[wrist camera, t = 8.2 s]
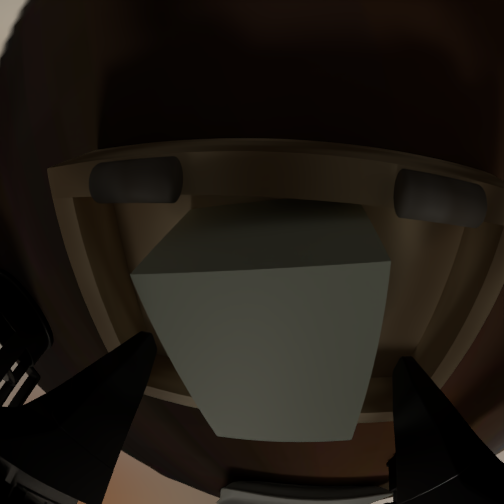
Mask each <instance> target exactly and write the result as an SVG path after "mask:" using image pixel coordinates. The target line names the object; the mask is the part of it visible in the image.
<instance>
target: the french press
mask: <svg viewBox="0 0 504 504" xmlns="http://www.w3.org/2000/svg"><path fill="white" fill-rule="evenodd" d="M0 343H1V344H2V345H3V347H2V348H1V349H0V382H1V381H2V379H3V380H5V381H6V382H5V383H4V385H3V386H2V388H1V389H0V407H2V405H3V403H4V402H5V401H6V399H7V398H8V396H9V394H10V393H11V392H12V390H13V389H14V387H15V386H16V384H17V383H18V382H19V380H20V379H21V377H22V376H23V375H24V373H25V372H26V371H27V369H28V371H29V372H30V374H29V376H28V378H27V379H26V380H25V382H24V383H23V385H22V386H21V388H20V389H19V391H18V392H17V393H16V395H15V396H14V398H13V399H12V401H11V402H10V404H9V405H8V407H19V406H22V405H23V404H24V402H25V401H26V399H27V398H28V396H29V395H30V393H31V392H32V390H33V389H34V387H35V386H36V384H37V383H38V382H39V380H40V375H39V374H38V373H37V371H36V370H35V369H34V368H33V366H34V365H35V363H36V362H37V361H38V359H39V358H40V357H41V355H42V354H43V353H44V352H45V350H47V349H49V348H50V347H51V346H52V344H53V335H52V332H51V329H50V327H49V325H48V323H47V321H46V319H45V317H44V315H43V314H42V312H41V311H40V309H39V307H38V306H37V305H36V303H35V302H34V300H33V299H32V298H31V296H30V295H29V294H28V292H27V291H26V290H25V289H24V288H23V286H22V285H21V284H20V283H19V282H18V281H17V280H16V279H15V278H14V277H13V276H12V275H10V274H9V273H8V272H6V271H4V270H2V269H0ZM17 360H19V361H20V363H19V364H18V366H17V367H16V368H15V370H14V371H13V372H12V370H11V369H10V368H11V367H12V366H13V364H14V363H15V362H16V361H17Z"/></svg>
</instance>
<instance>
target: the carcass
mask: <svg viewBox="0 0 504 504" xmlns="http://www.w3.org/2000/svg"><path fill="white" fill-rule="evenodd" d="M47 172H48V177H49V183H50V188H51V193H52V197H53V202H54V206H55V210H56V214H57V218H58V222H59V226H60V230H61V233H62V237H63V240H64V244H65V247H66V250H67V253H68V256H69V259H70V262H71V265H72V268H73V271H74V274H75V277H76V279H77V282H78V285H79V287H80V290H81V293H82V295H83V298H84V300H85V303H86V305H87V307H88V310H89V312H90V314H91V317H92V319H93V321H94V323H95V326H96V328H97V330H98V332H99V334H100V336H101V338H102V340H103V342H104V344H105V346H106V348H107V350H108V352H110V351H112V350H113V349H115V348H116V347H118V346H119V345H121V344H122V343H124V342H125V341H127V340H128V339H130V338H131V337H133V336H134V335H136V334H137V333H139V332H140V331H147V332H151V333H152V334H153V337H154V340H155V343H156V346H157V354H156V357H155V360H154V363H153V367H152V370H151V374H150V377H149V380H148V384H147V387H146V389H145V392H144V394H145V395H148V396H152V397H155V398H159V399H162V400H166V401H170V402H174V403H178V404H182V405H186V406H190V407H195V408H198V406H197V405H196V403H195V401H194V400H193V398H192V396H191V395H190V393H189V391H188V390H187V388H186V386H185V385H184V383H183V381H182V380H181V378H180V376H179V374H178V373H177V371H176V369H175V367H174V365H173V364H172V362H171V360H170V358H169V356H168V354H167V353H166V351H165V349H164V347H163V345H162V343H161V341H160V339H159V337H158V335H157V333H156V331H155V329H154V327H153V325H152V323H151V321H150V319H149V317H148V315H147V313H146V310H145V308H144V306H143V304H142V302H141V300H140V297H139V295H138V293H137V290H136V288H135V286H134V284H133V281H132V279H131V276H130V274H131V273H132V271H133V270H134V269H135V268H136V267H137V266H138V265H139V264H140V262H141V261H142V260H143V259H144V258H145V257H146V256H147V255H148V254H149V253H150V251H151V250H152V249H153V248H154V247H155V246H156V245H157V244H158V243H159V242H160V241H161V240H162V239H163V237H164V236H165V235H166V234H167V233H168V232H169V231H170V230H171V229H172V228H173V227H174V226H175V225H176V224H177V223H178V222H179V221H180V220H181V219H182V218H183V217H184V216H185V215H186V214H187V213H188V212H189V211H190V210H191V209H196V208H204V207H212V206H220V205H229V204H238V203H247V202H257V201H267V200H278V199H289V198H290V199H305V200H318V201H330V202H342V203H352V204H361V205H362V207H363V209H364V210H365V212H366V214H367V216H368V218H369V219H370V221H371V223H372V225H373V227H374V229H375V230H376V232H377V234H378V236H379V238H380V240H381V242H382V244H383V246H384V248H385V250H386V252H387V254H388V256H389V258H390V260H391V267H390V276H389V284H388V291H387V298H386V305H385V311H384V317H383V323H382V328H381V333H380V338H379V343H378V348H377V352H376V357H375V361H374V365H373V370H372V374H371V377H370V381H369V385H368V389H367V392H366V396H365V399H364V403H363V406H362V409H361V412H360V416H359V419H358V422H357V423H368V422H384V421H393V388H392V373H393V370H394V368H395V366H396V364H397V362H398V360H399V358H400V357H401V356H412V357H413V358H414V359H415V360H416V361H417V363H418V364H419V365H420V366H421V367H422V368H423V370H424V371H425V372H426V373H427V374H428V375H429V377H430V378H431V379H432V380H433V381H434V383H435V384H436V385H437V386H438V387H439V389H441V387H442V386H443V385H444V383H445V382H446V381H447V379H448V378H449V377H450V375H451V374H452V373H453V371H454V370H455V368H456V367H457V366H458V364H459V363H460V361H461V360H462V358H463V357H464V355H465V354H466V352H467V351H468V349H469V347H470V346H471V344H472V343H473V341H474V339H475V338H476V336H477V334H478V333H479V331H480V329H481V327H482V326H483V324H484V322H485V320H486V318H487V316H488V315H489V313H490V311H491V309H492V307H493V305H494V303H495V301H496V299H497V297H498V295H499V292H500V290H501V288H502V286H503V284H504V181H503V180H501V179H499V178H497V177H495V176H494V175H492V174H490V173H488V172H485V171H482V170H478V169H475V168H471V167H468V166H464V165H460V164H456V163H452V162H448V161H444V160H440V159H435V158H431V157H426V156H421V155H416V154H411V153H406V152H400V151H394V150H388V149H382V148H375V147H368V146H360V145H352V144H343V143H333V142H322V141H310V140H293V139H268V138H218V139H193V140H177V141H164V142H153V143H143V144H135V145H126V146H119V147H112V148H105V149H99V150H95V151H92V152H89V153H86V154H83V155H81V156H78V157H75V158H73V159H70V160H67V161H65V162H62V163H60V164H57V165H55V166H52V167H50V168H47Z"/></svg>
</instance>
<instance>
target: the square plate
mask: <svg viewBox="0 0 504 504" xmlns="http://www.w3.org/2000/svg"><path fill="white" fill-rule="evenodd" d="M392 494H393V493H392V492H390V491H389V490H387V489H385V488H382V487H378V486H306V485H291V484H281V483H271V482H261V481H236V482H232V483H230V484H229V485H227V486H226V487H223V488H222V489H221V493H220V499H219V501H217V504H371V503H373V502H376V501H378V500H380V499H383V498H385V497H388V496H390V495H392Z"/></svg>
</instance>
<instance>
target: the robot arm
mask: <svg viewBox="0 0 504 504" xmlns="http://www.w3.org/2000/svg"><path fill="white" fill-rule="evenodd" d="M156 354H157V346H156V343H155V340H154V337H153V334H152V333H151V332H147V331H140V332H139V333H137V334H136V335H134V336H133V337H131V338H130V339H128V340H127V341H125V342H124V343H122V344H121V345H119V346H118V347H116V348H115V349H113V350H112V351H110V352H109V353H108V354H106V355H105V356H103V357H102V358H100V359H99V360H97V361H96V362H94V363H93V364H91V365H90V366H88V367H87V368H85V369H84V370H82V371H81V372H79V373H78V374H76V375H75V376H73V378H70V379H69V380H67V381H66V382H64V383H63V384H61V385H60V386H58V387H56V388H55V389H53V390H51V391H49V392H48V393H46V394H44V395H42V396H40V397H38V398H36V399H34V400H33V401H31V402H29V403H27V404H25V405H22V406H19V407H0V504H77V502H78V500H79V501H81V502H84V503H86V504H102V501H103V499H104V496H105V493H106V490H107V487H108V484H109V481H110V479H111V476H112V473H113V469H114V467H115V465H116V462H117V459H118V457H119V454H120V451H121V449H122V446H123V444H124V441H125V438H126V436H127V433H128V431H129V428H130V426H131V423H132V421H133V418H134V416H135V413H136V411H137V408H138V406H139V404H140V401H141V399H142V396H143V394H144V392H145V389H146V387H147V384H148V380H149V377H150V374H151V370H152V367H153V363H154V360H155V357H156ZM392 388H393V421H394V433H395V447H396V456H395V457H394V458H392V459H391V460H390V461H389V462H387V463H386V465H387V467H389V491H390V492H393V502H391V503H384V504H504V463H503V462H502V461H500V460H499V459H498V458H497V457H496V455H495V454H494V453H493V452H492V451H491V450H490V449H489V448H488V447H487V446H486V445H485V444H484V443H483V441H482V440H481V439H480V438H479V437H478V436H477V435H476V433H475V432H474V431H473V430H472V429H471V427H470V426H469V425H468V423H467V422H466V421H465V420H464V418H463V417H462V416H461V415H460V413H459V412H458V411H457V410H456V408H455V407H454V406H453V405H452V403H451V402H450V401H449V400H448V398H447V397H446V396H445V395H444V393H443V392H442V391H441V390H440V389H439V387H438V386H437V385H436V384H435V383H434V381H433V380H432V379H431V378H430V377H429V375H428V374H427V373H426V372H425V371H424V370H423V368H422V367H421V366H420V365H419V364H418V363H417V361H416V360H415V359H414V358H413V357H412V356H401V357H400V358H399V360H398V362H397V364H396V366H395V368H394V370H393V373H392Z"/></svg>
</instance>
